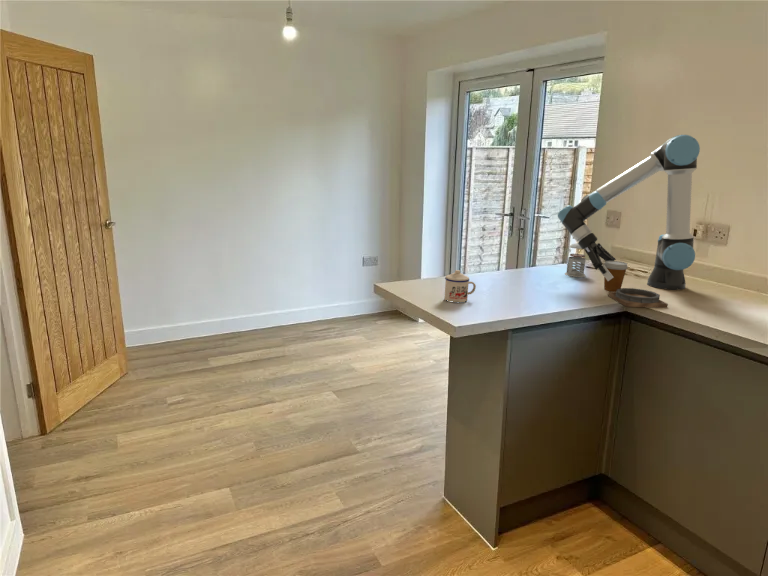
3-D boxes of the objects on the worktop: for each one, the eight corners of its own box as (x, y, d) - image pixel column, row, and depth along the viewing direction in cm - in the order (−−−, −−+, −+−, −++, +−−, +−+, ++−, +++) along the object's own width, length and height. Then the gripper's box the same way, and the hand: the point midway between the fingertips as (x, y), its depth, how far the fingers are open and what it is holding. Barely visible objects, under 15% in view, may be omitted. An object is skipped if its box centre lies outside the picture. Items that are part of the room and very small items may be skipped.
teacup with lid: (447, 303, 198) (449, 273, 196) (440, 297, 207) (442, 268, 204) (478, 303, 201) (480, 273, 198) (470, 297, 209) (472, 267, 207)
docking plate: (646, 296, 219) (647, 288, 218) (667, 307, 203) (668, 298, 203) (607, 295, 219) (609, 287, 218) (625, 306, 203) (626, 297, 202)
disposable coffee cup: (626, 293, 223) (630, 265, 220) (602, 292, 225) (606, 264, 222) (621, 288, 232) (625, 261, 229) (598, 286, 234) (601, 259, 231)
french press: (588, 277, 253) (595, 224, 247) (564, 276, 253) (570, 223, 247) (581, 273, 262) (588, 222, 256) (558, 272, 262) (563, 221, 256)
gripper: (587, 239, 244) (617, 277, 238) (567, 245, 225) (598, 286, 219) (601, 229, 239) (631, 267, 234) (581, 234, 220) (614, 276, 215)
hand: (616, 276), depth 226 cm, fingers open, 13 cm apart
